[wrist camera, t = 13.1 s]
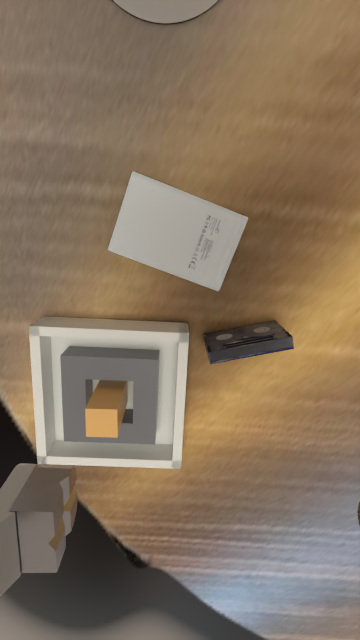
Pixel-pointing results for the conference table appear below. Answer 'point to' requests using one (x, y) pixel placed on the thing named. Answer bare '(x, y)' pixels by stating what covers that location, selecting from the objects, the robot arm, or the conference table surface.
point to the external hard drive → (176, 232)
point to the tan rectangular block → (106, 409)
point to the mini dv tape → (247, 342)
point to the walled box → (109, 364)
